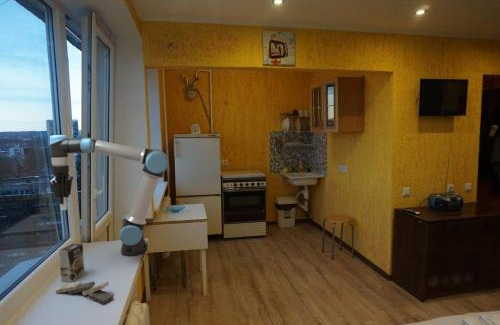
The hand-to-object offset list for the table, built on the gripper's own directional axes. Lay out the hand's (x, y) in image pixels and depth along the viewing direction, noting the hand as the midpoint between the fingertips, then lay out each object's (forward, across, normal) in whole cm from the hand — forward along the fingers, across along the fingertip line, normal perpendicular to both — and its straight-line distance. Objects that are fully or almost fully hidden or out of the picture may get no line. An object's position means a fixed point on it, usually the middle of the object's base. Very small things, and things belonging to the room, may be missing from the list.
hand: (64, 209), depth 165 cm
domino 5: (+33, +20, +32) cm, 50 cm away
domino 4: (+31, +20, +34) cm, 50 cm away
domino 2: (+32, +19, +22) cm, 43 cm away
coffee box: (+33, +8, +11) cm, 35 cm away
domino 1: (+32, +20, +15) cm, 40 cm away
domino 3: (+31, +19, +29) cm, 47 cm away
